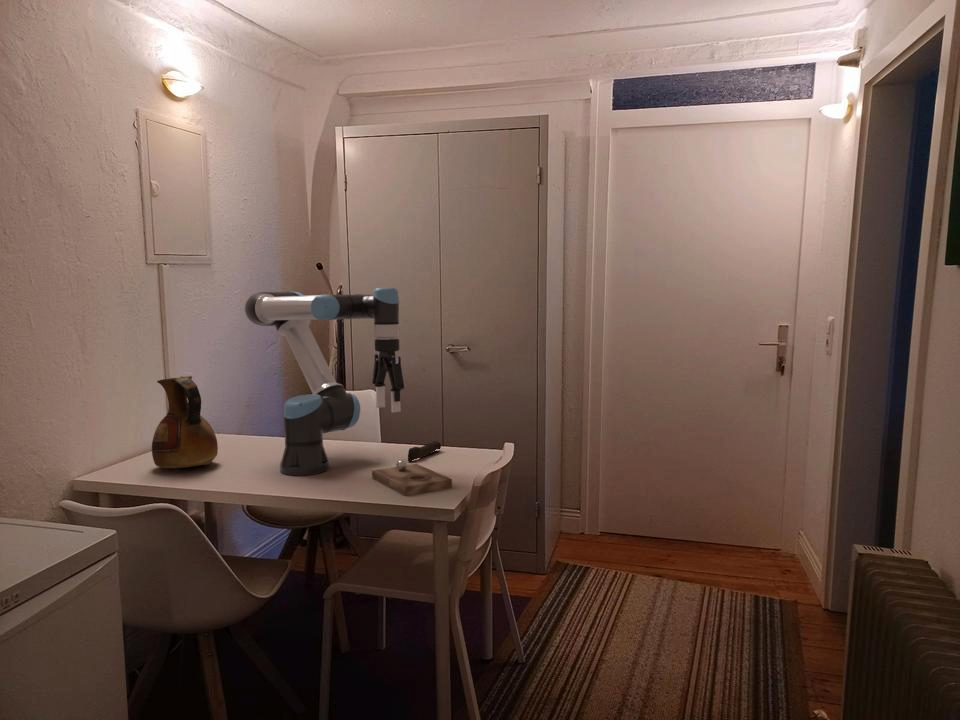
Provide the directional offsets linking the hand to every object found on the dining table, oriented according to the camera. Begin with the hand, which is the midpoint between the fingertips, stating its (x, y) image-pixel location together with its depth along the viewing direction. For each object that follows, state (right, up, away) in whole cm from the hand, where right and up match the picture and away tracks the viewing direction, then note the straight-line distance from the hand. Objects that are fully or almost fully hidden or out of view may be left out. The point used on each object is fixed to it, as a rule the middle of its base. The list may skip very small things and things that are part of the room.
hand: (388, 409), depth 216 cm
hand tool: (+9, -18, +23) cm, 31 cm away
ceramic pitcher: (-67, -20, +10) cm, 70 cm away
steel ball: (+5, -16, -6) cm, 18 cm away
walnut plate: (+8, -21, -11) cm, 25 cm away
